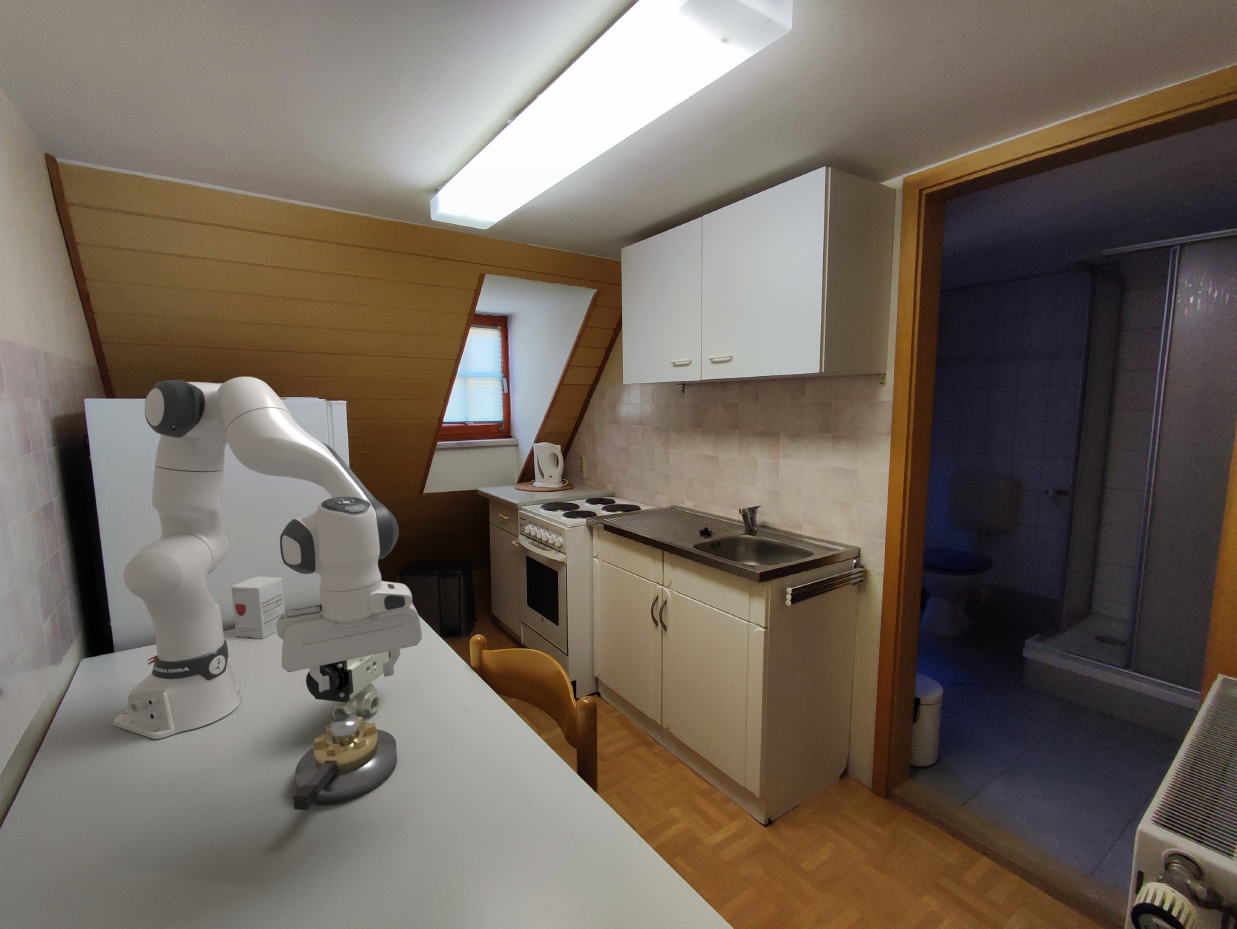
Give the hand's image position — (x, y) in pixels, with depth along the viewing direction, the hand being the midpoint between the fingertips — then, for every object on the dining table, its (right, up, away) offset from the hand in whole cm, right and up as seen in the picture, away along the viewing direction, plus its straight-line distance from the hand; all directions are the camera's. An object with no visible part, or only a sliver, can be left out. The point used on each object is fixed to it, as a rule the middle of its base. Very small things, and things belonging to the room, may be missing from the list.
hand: (357, 681), depth 89 cm
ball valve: (-12, -17, +27) cm, 34 cm away
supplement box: (-60, -13, +68) cm, 92 cm away
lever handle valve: (-6, -17, +4) cm, 18 cm away
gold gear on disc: (-6, -19, +8) cm, 22 cm away
